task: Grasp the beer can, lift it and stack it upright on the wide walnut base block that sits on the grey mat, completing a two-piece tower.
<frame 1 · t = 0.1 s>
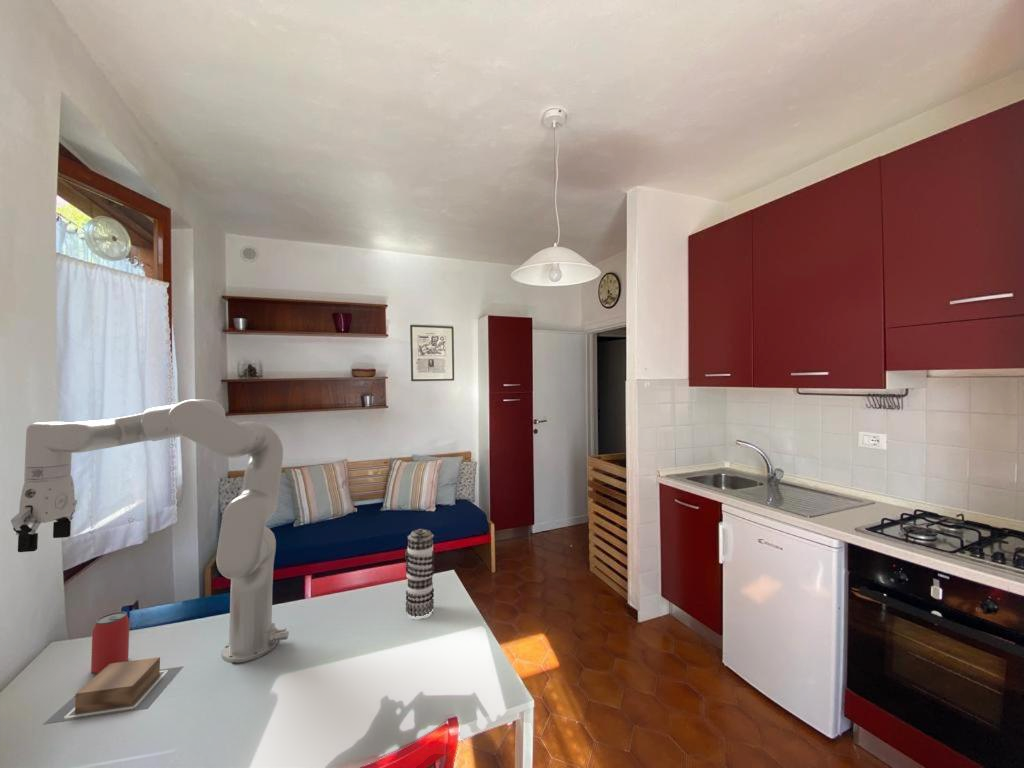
hand: (45, 544, 99), 31 cm above the table, fingers open, 9 cm apart
decorative candle: (419, 613, 127), on the table
beer can: (110, 667, 101), on the table
walnut base block: (120, 692, 92), resting on grey mat
grey mat: (119, 694, 92), on the table
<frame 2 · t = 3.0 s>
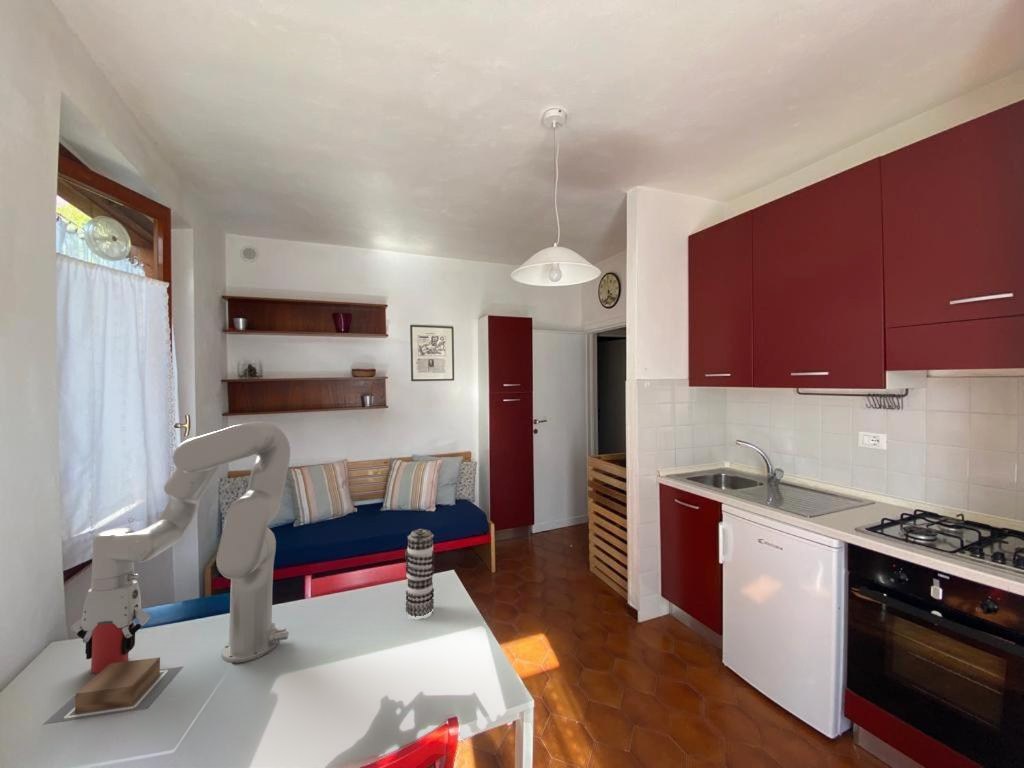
hand: (110, 653, 101), 3 cm above the table, fingers closed on beer can, 6 cm apart
beer can: (109, 667, 101), on the table, touching gripper
everything else where it was.
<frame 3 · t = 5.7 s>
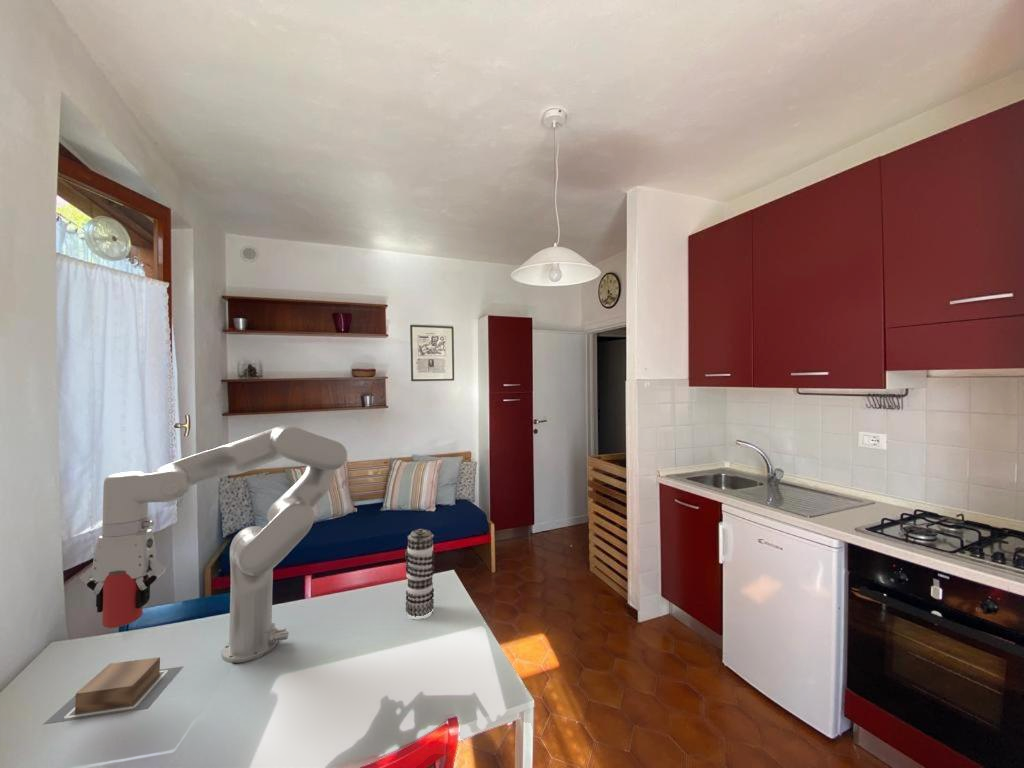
hand: (123, 606, 93), 19 cm above the table, fingers closed on beer can, 6 cm apart
beer can: (122, 622, 92), point 16 cm above the table, touching gripper
everything else where it was.
when the fingers open (9 cm above the table, at t = 8.4 s): beer can drops 1 cm, resting on walnut base block.
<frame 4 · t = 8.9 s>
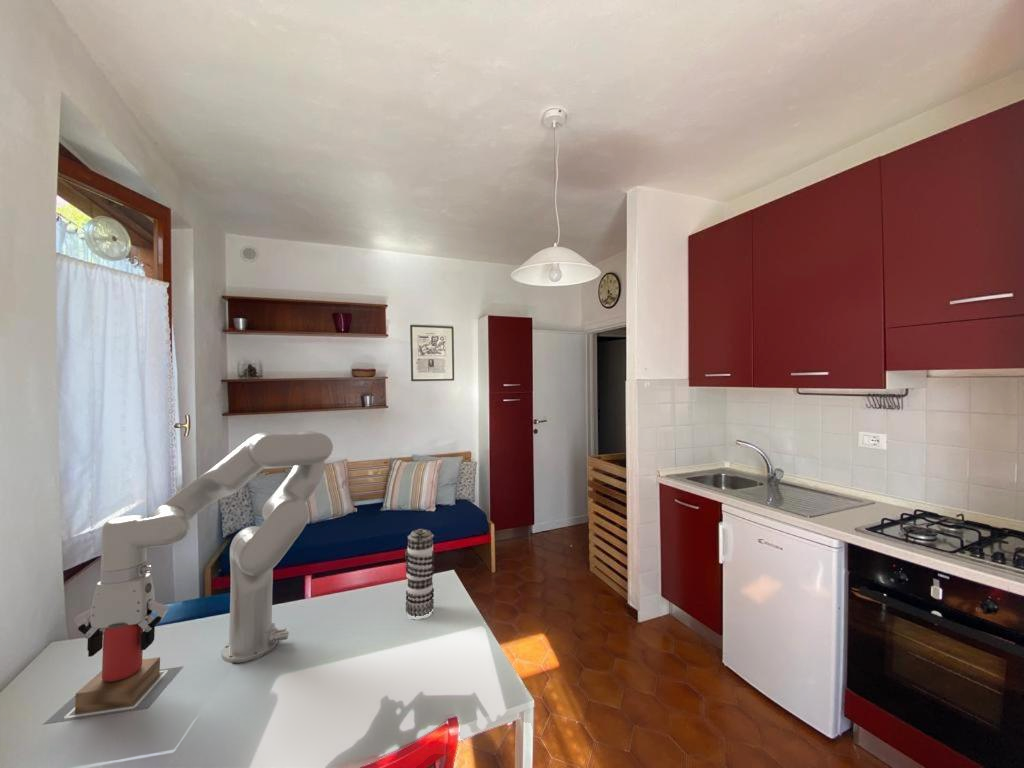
hand: (121, 649, 92), 10 cm above the table, fingers open, 9 cm apart
beer can: (122, 674, 92), point 4 cm above the table, touching walnut base block
walnut base block: (120, 692, 92), resting on grey mat, touching beer can
everything else where it was.
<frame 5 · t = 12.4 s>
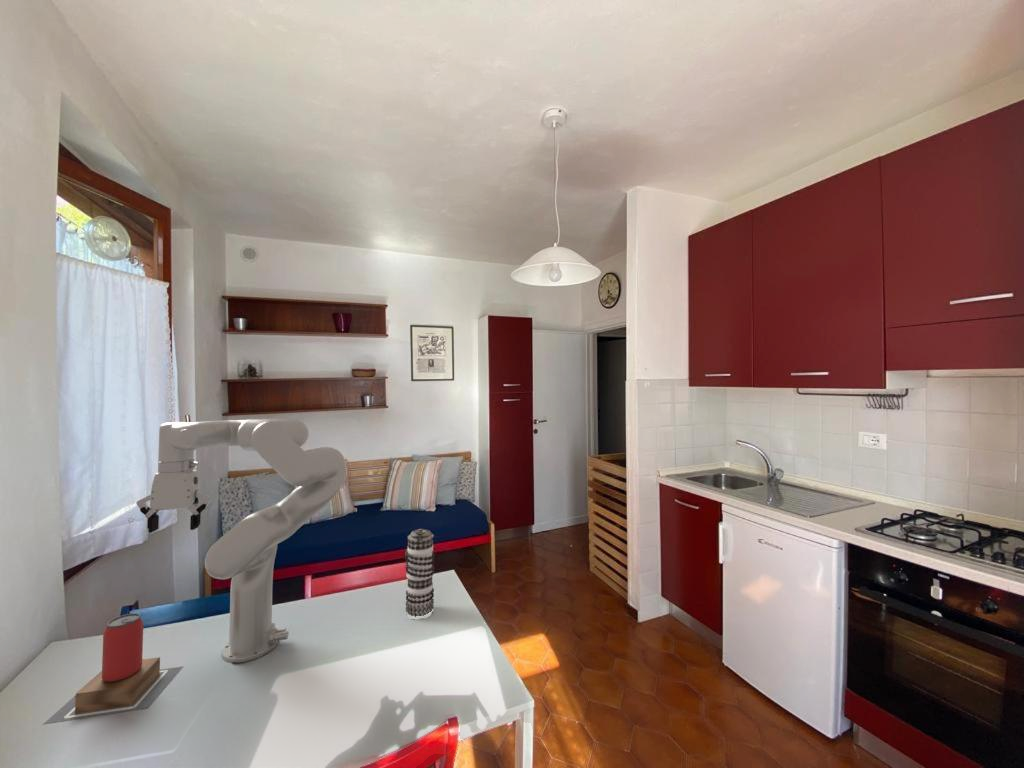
hand: (174, 529, 112), 30 cm above the table, fingers open, 9 cm apart
nothing on the table moved.
at the end: beer can inside the target area on the walnut base block (0.3 cm from its centre), point 3.8 cm above the walnut base block's base; beer can tilted 0°; beer can touching walnut base block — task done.
